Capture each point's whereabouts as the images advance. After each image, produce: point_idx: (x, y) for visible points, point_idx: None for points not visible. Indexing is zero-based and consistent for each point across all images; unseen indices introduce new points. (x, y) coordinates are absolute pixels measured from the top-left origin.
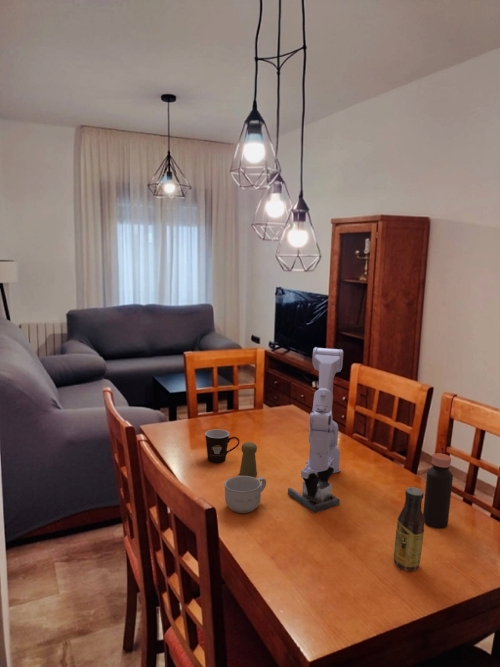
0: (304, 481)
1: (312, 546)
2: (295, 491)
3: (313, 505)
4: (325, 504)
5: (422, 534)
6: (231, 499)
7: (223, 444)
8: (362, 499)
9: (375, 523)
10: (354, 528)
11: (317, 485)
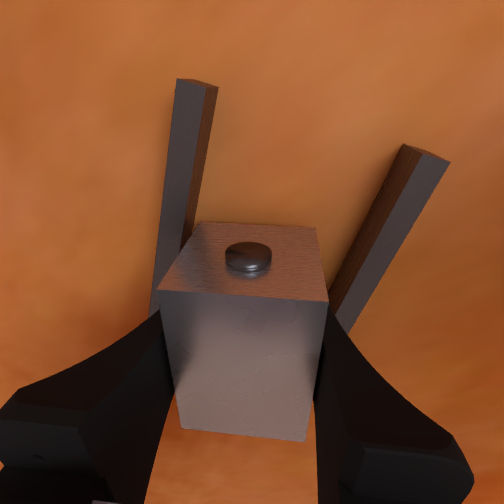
0: (92, 357)
1: (7, 393)
2: (188, 165)
3: None
4: None
5: None
6: None
7: None
8: (439, 407)
9: (280, 467)
10: (199, 438)
11: (201, 392)
